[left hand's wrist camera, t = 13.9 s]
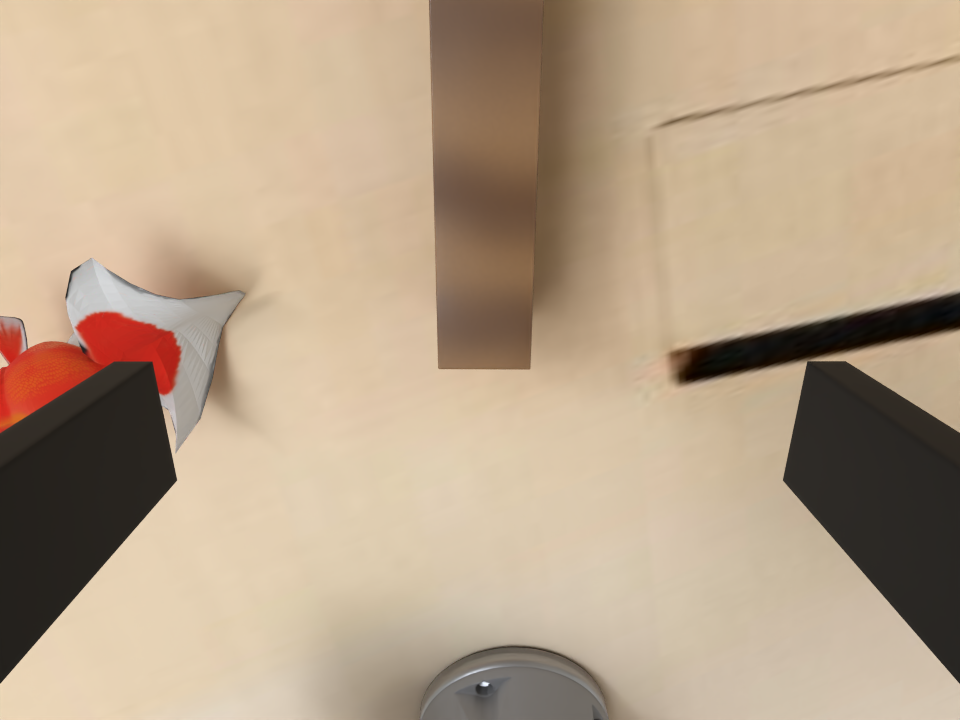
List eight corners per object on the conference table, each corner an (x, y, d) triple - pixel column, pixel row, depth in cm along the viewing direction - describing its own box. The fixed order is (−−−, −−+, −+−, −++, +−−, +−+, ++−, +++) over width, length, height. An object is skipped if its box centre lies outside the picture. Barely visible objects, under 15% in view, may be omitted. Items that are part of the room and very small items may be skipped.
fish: (-105, 254, 31) (-160, 370, 24) (215, 197, 36) (244, 278, 29) (1, 404, 38) (-19, 527, 31) (256, 338, 43) (287, 430, 36)
